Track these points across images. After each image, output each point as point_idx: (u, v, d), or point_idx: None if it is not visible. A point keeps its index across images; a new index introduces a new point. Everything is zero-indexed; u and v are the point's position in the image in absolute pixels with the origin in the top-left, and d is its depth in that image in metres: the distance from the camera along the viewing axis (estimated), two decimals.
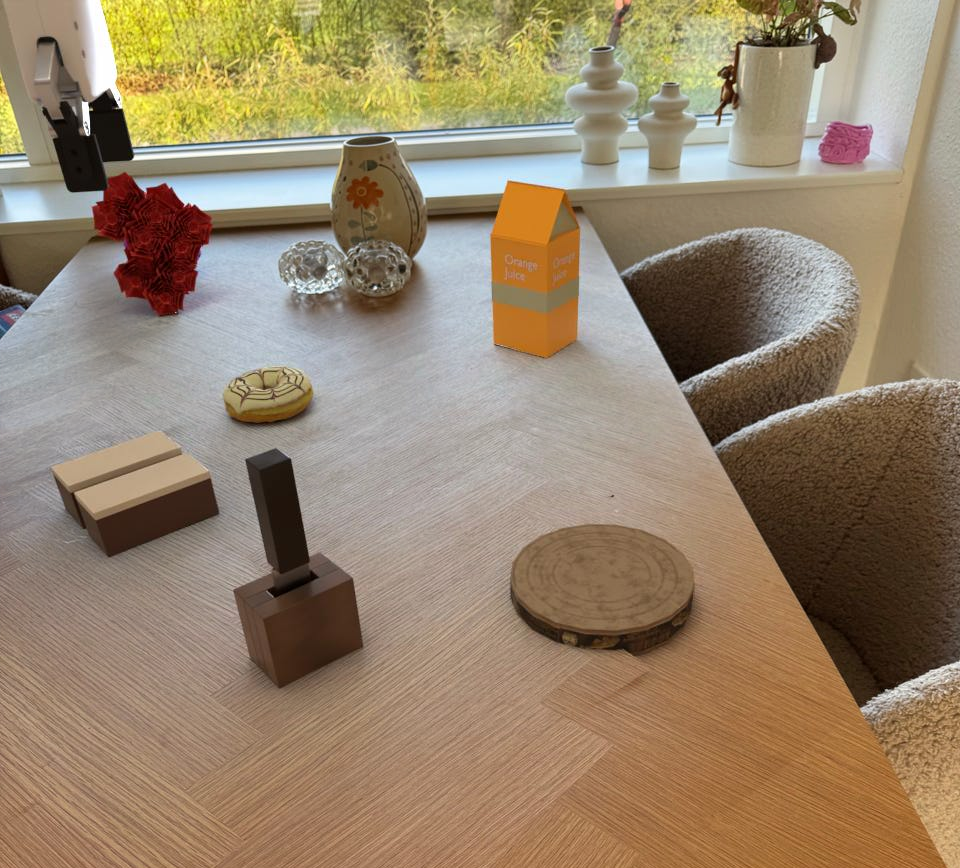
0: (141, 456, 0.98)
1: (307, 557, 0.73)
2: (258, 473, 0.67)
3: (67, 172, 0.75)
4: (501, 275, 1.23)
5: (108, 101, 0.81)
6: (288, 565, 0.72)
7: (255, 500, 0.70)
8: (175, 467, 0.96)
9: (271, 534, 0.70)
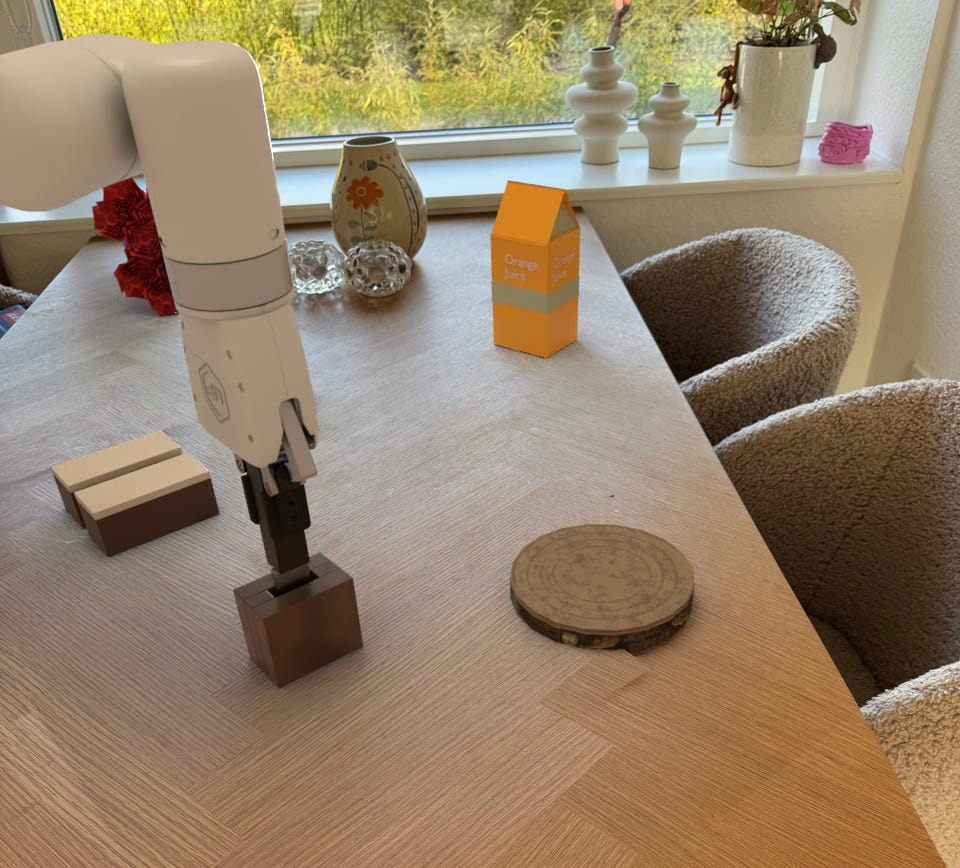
0: (141, 456, 0.98)
1: (307, 557, 0.73)
2: (258, 473, 0.67)
3: (275, 523, 0.69)
4: (501, 275, 1.23)
5: None
6: (288, 565, 0.72)
7: (255, 500, 0.70)
8: (175, 467, 0.96)
9: None
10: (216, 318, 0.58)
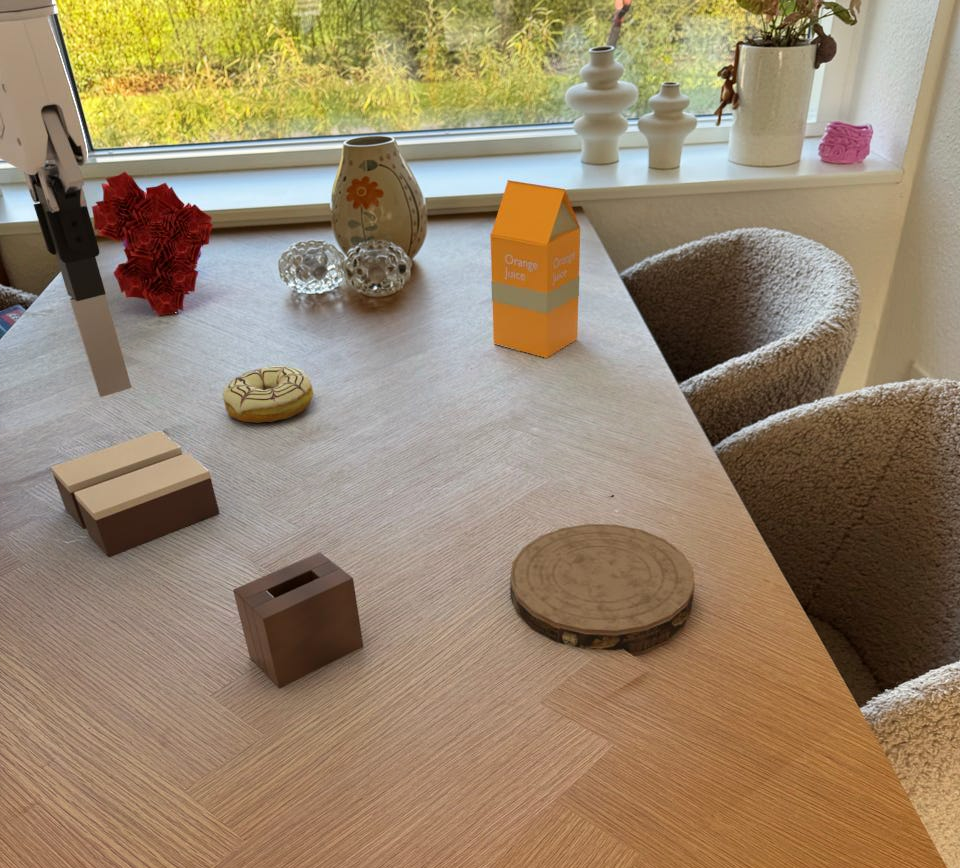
0: (141, 456, 0.98)
1: (102, 288, 0.82)
2: (43, 192, 0.76)
3: (62, 244, 0.78)
4: (501, 275, 1.23)
5: None
6: (83, 293, 0.81)
7: (48, 226, 0.79)
8: (175, 467, 0.96)
9: None
10: None
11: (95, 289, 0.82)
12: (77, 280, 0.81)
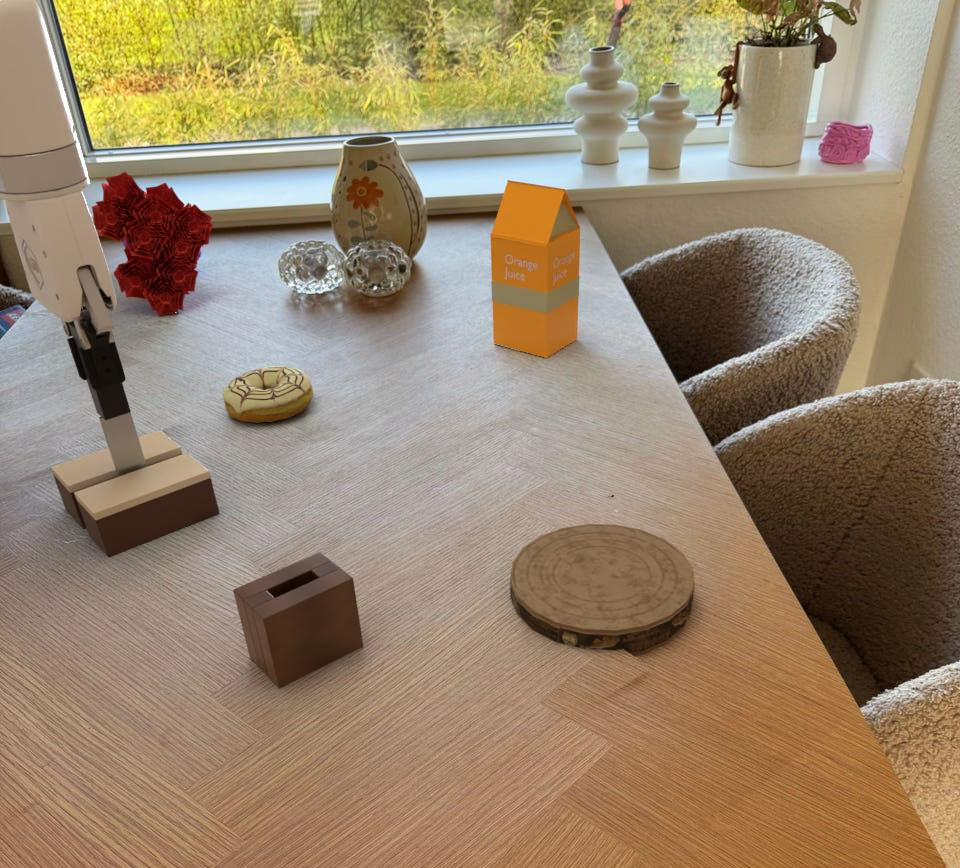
0: None
1: (127, 407, 0.92)
2: (76, 331, 0.86)
3: (93, 374, 0.88)
4: (501, 275, 1.23)
5: None
6: (111, 413, 0.91)
7: (80, 357, 0.89)
8: (175, 467, 0.96)
9: None
10: (21, 199, 0.77)
11: (121, 409, 0.92)
12: (106, 402, 0.91)
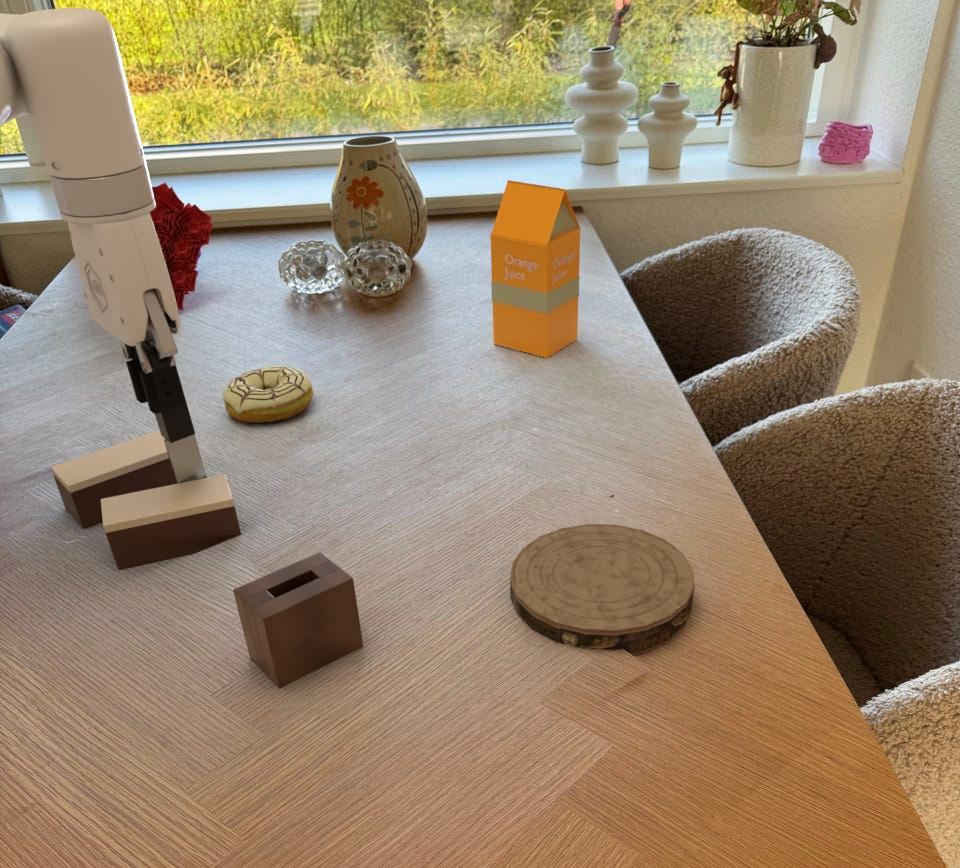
0: (141, 456, 0.98)
1: (192, 429, 0.91)
2: None
3: (153, 398, 0.86)
4: (501, 275, 1.23)
5: None
6: (176, 435, 0.90)
7: None
8: (204, 489, 0.93)
9: None
10: (89, 222, 0.75)
11: (186, 431, 0.91)
12: (171, 425, 0.89)
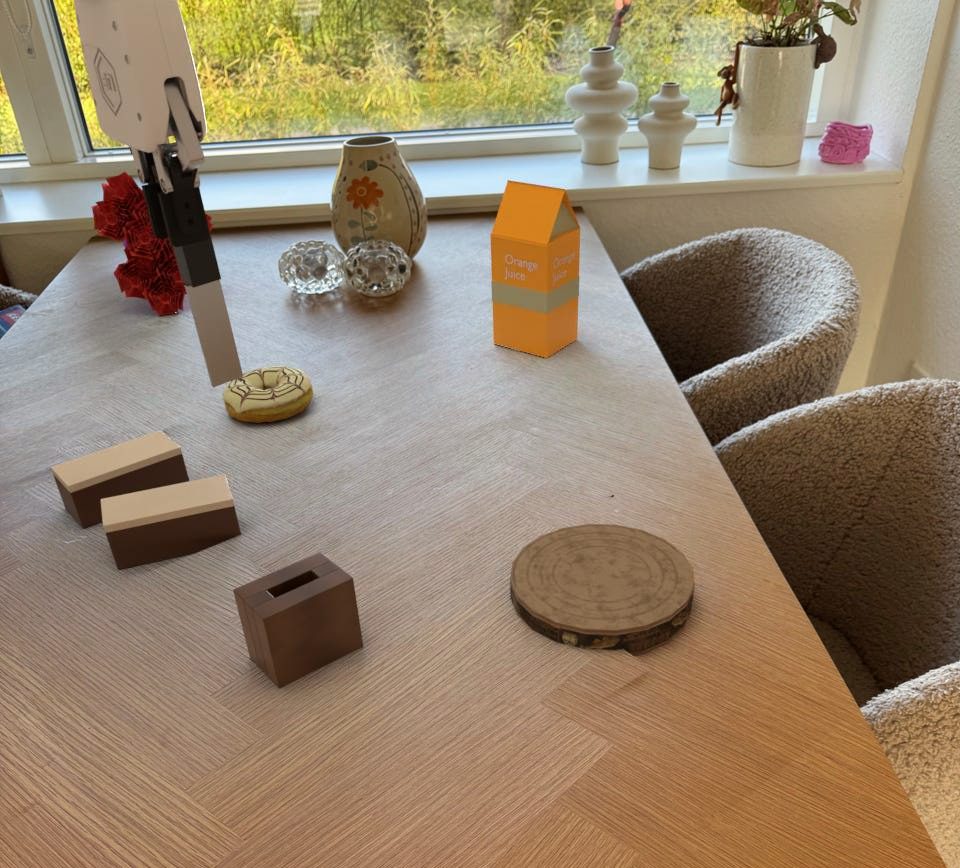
0: (141, 456, 0.98)
1: (218, 273, 0.79)
2: None
3: (173, 227, 0.74)
4: (501, 275, 1.23)
5: None
6: (199, 278, 0.78)
7: None
8: (204, 489, 0.93)
9: None
10: None
11: (211, 274, 0.79)
12: (194, 265, 0.77)
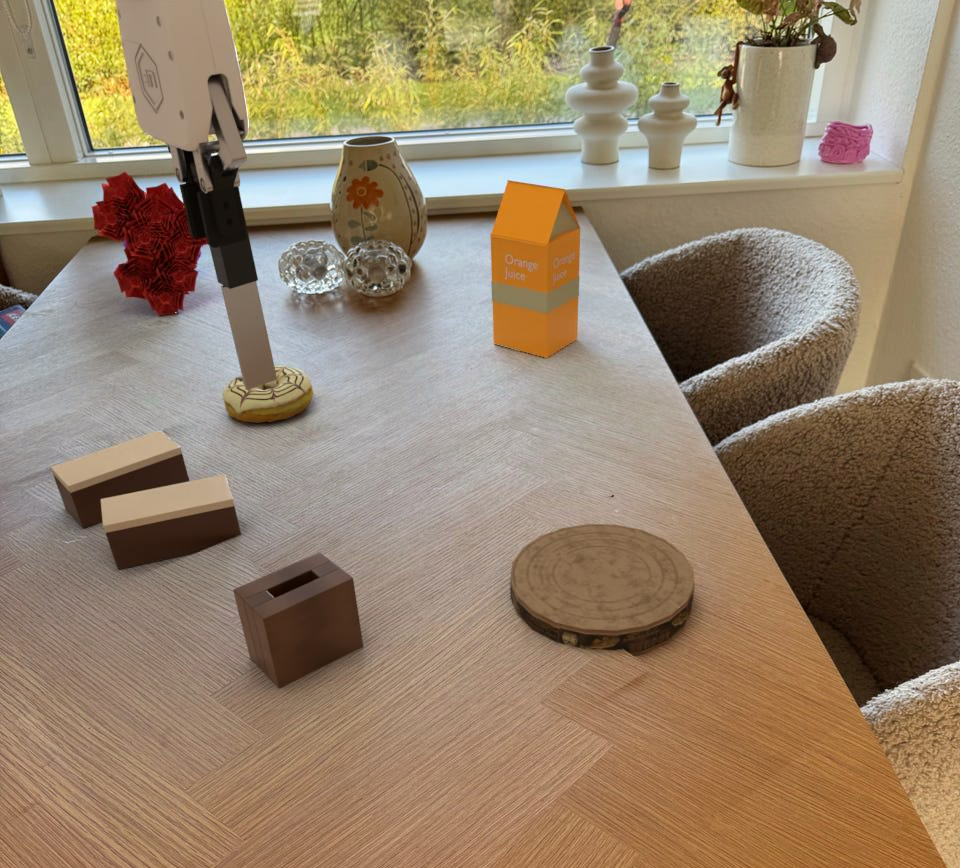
0: (141, 456, 0.98)
1: (255, 274, 0.77)
2: None
3: (212, 227, 0.73)
4: (501, 275, 1.23)
5: None
6: (236, 279, 0.77)
7: None
8: (204, 489, 0.93)
9: None
10: None
11: (248, 275, 0.77)
12: (231, 266, 0.76)
